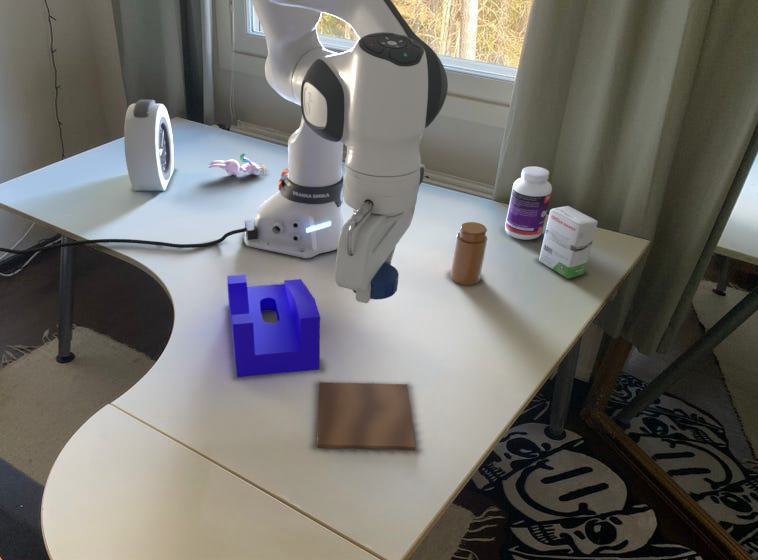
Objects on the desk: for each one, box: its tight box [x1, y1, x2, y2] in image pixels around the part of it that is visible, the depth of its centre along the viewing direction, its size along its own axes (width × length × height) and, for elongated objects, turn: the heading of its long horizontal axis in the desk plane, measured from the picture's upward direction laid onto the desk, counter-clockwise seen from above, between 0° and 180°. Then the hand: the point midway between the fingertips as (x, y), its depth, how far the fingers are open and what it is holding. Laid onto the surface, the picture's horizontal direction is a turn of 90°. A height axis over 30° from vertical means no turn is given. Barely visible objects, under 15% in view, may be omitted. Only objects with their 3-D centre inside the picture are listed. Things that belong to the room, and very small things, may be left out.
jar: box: [450, 221, 488, 286], centre depth 130 cm, size 6×6×11 cm
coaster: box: [316, 381, 416, 451], centre depth 101 cm, size 14×14×1 cm
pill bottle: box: [504, 166, 553, 241], centre depth 144 cm, size 8×8×14 cm
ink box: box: [538, 205, 599, 280], centre depth 133 cm, size 9×5×12 cm, turn 26°
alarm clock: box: [123, 99, 175, 192], centre depth 167 cm, size 21×8×20 cm, turn 179°
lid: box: [352, 263, 399, 300], centre depth 87 cm, size 6×6×2 cm
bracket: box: [226, 274, 321, 378], centre depth 114 cm, size 21×14×10 cm, turn 9°
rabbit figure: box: [207, 153, 267, 176], centre depth 174 cm, size 6×6×15 cm
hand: (373, 285), depth 88 cm, fingers closed on lid, 6 cm apart
